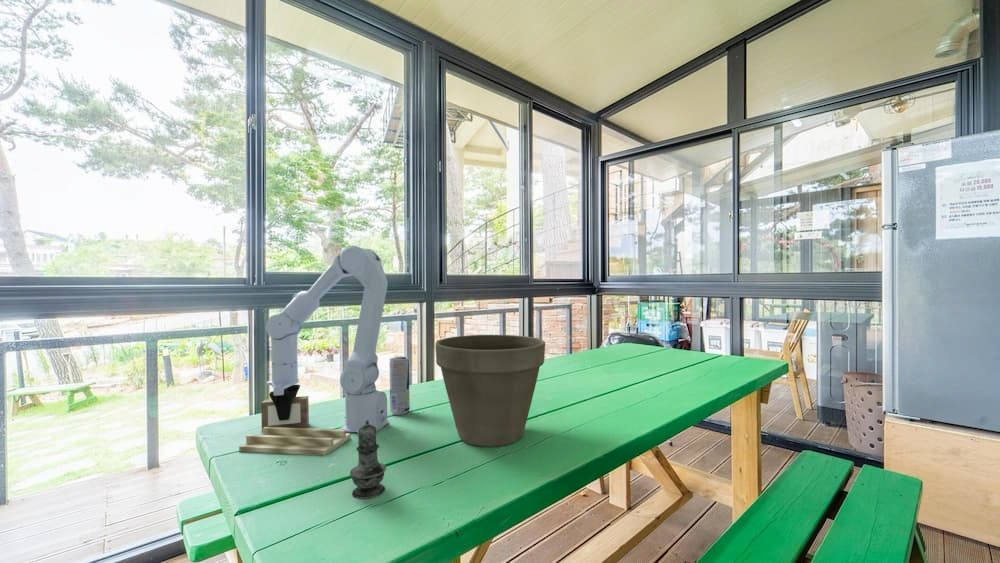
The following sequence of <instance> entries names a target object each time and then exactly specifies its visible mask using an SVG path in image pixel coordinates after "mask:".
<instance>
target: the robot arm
mask: <svg viewBox="0 0 1000 563" xmlns="http://www.w3.org/2000/svg"><path fill="white" fill-rule="evenodd" d="M382 264H383V263H382V258H381V257H380V256H379V255H378V254H377V253H376V252H375V251H374V250H372V249H370V248H363V247H359V246H357V245H349V246H346V247H345V248H343V249H342V250H341V252H340V253H338V254H337V255H336V256H335V257H334V258H333V261H332V262H331V263H330V265H329V266H328V267H327V268H326V270H324V272H322V274H321V275H320V276H319V277H318V278H317V280H316V281H315V282H314V283H313V285H311V287H310V288H309V289H308V290H305V291H303V290H301V291H300V292H296V293H294V294H293V295H292V299H291V301H290V302H289V303H287V305H286V306H285V307H282V308H280V310H279V312H280V313H278V314H273V315H271V316H269V318H268V320H267V321H266V324H265V330H266V331H265V332H266V333H267V335H268V336H269V337H270V339H271V340H270V342H271V345H270V346H271V347H270V348H271V350H270V351H271V352H270V353H271V380H269V381H267V382H266V386H271V387H272V388H273V391H270V392H269V399H272V401H273V403H274V405H275V407H276V411H277V415H278V418H279V421H282V420H289V417H290V412H291V404H292V400H293V397H297V394H298V392H299V390H300V387H301V385H300V384H299V382H300V381H299V380H300V379H299V375H298V374H299V373H298V372H299V370H298V367H299V366H298V335H299V334H300V332H301V331H302V327H303V324H304V323H305V322H306V321H308V319H309V318H310V317H311V316H312V315H313V314H314V313H315V311H317V309H319V307H320V300H321V299H322V298H323V297H324V296H325V295H326V294H327V293H328V292H329V291H330V290H331V289H332V288H333V287H334V286H336V284H337V283H339V282H340V281H341V279H343V278H347V277H351V276H354V277H355V278H356V279H357V280H358V281H359V283H360V284H361V285H362V286H363V287H364V288H363V293H362V294H363V295H362V300H361V306H360V311H359V318H358V323H357V326H356V331H355V332H356V334H355V338H354V345H353V350H352V353H351V354H350V356H349V358H348V360H347V363H346V366H345V369H344V370H343V371H342V373H341V375H340V379H339V382H340V385H341V386H340V387H341V388H342V389H343V390H344V396H345V397H344V401H345V402H344V404H345V407H344V408H345V413H344V414H345V425H343V426H342V427H340V428H339V429H337V430H346V433H359V429H360V428H361V427H362V426H364V425H366V423H365V422H366V421H367V420H368V421H369V424H370V425H373V426H375V428H376V433H377V432H378V431H380V430H382V428H384V426H386V425H388V424H389V422H390V421H389V420H388V397H387V394H386V392H384V391H380V390H378V389H377V386H376V382H377V381H378V378H379V376H380V369H379V366H378V360H379V357H378V355H377V353H376V351H377V347H378V346H377V344H378V339H379V334H380V329H381V324H382V318H383V312H384V307H385V300H386V295H387V290H388V284H389V283H388V279H387V276H386V272H385V270H384V268H383V265H382Z"/></svg>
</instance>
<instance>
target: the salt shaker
mask: <svg viewBox="0 0 1000 563" xmlns="http://www.w3.org/2000/svg"><path fill="white" fill-rule="evenodd" d="M365 423H366V425H364V426H362V427H361V428H360V429H359V432H358V446H357V447H356V451H357V452H358V455H357V456H358V462H357V466H354V467H353V468H352V469H351V470H350V471H349V475H350V477H351V480H352V482H353V484H354V486H356V487H355V488H354V489H353V490H352V492H351V495H352V497H353V498H354V499H356V500H358V499H359V500H368V499H373V498H377V497H378V496H380V495H382V494H383V493H384V492H385V489H386V487H385V486H384V485H383V484H382V483H381V482H382V481H383V479H384V477H385V472H386V470H387V466H386V465H385V464H384V463H381V462H379V460H378V448H380V446H379V443H377V440H378V439H377V432H376V428H375V426H373V425H370V424H369V421H368V420H367V421H366V422H365Z"/></svg>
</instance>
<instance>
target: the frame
mask: <svg viewBox="0 0 1000 563" xmlns="http://www.w3.org/2000/svg"><path fill="white" fill-rule="evenodd" d="M260 404H261V407H260V408H261V409H260V410H261V433H263V428H264V427H283V428H308V426H309V425H310V424H309V423H310V418H309V417H310V415H309V414H310V413H309V395H303V396H301V395H300V396H296V397H293V400H292V404H291V412H290V417H289V420H282V421H279V418H278V415H277V411H276V407H275V405H274V403H273V401H272V399H271V398H268V399H263V400H262V401H261V403H260Z"/></svg>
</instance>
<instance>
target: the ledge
mask: <svg viewBox="0 0 1000 563" xmlns="http://www.w3.org/2000/svg"><path fill="white" fill-rule="evenodd" d="M245 439H246V440H245V441H246V442H245V443H244V444H241V445H239V446H238V450H239V452H243V453H244V452H245V453H246V452H247V453H249V452H250V453H266V454H267V453H269V454H284V455H285V454H287V455H288V454H289V455H307V456H308V455H309V456H327V455H328V454H330V453H331V452H332V451H335V449H337V448H339V447H340V446H341V445H342V444H344V443H345V442H347V441H349V440H350V439H351V432H346V430H338V429H336V428H335V429H329V428H328V429H327V428H308V427H305V428H283V427H264V428H263V432H262V434H247V435H246V436H245Z"/></svg>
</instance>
